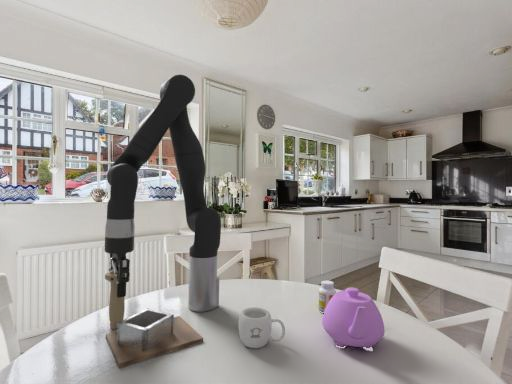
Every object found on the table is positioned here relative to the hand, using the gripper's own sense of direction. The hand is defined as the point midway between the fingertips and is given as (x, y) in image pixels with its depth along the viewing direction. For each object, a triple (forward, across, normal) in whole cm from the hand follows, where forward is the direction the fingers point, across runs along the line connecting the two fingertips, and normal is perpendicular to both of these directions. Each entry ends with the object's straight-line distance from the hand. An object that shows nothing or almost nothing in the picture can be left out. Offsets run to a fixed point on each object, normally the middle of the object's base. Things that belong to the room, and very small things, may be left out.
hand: (117, 292), depth 83 cm
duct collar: (+10, -13, -4) cm, 17 cm away
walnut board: (+10, -13, -6) cm, 17 cm away
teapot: (+9, -43, -48) cm, 65 cm away
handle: (+10, 0, 0) cm, 10 cm away
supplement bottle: (+9, -26, -58) cm, 65 cm away
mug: (+10, -30, -28) cm, 42 cm away
